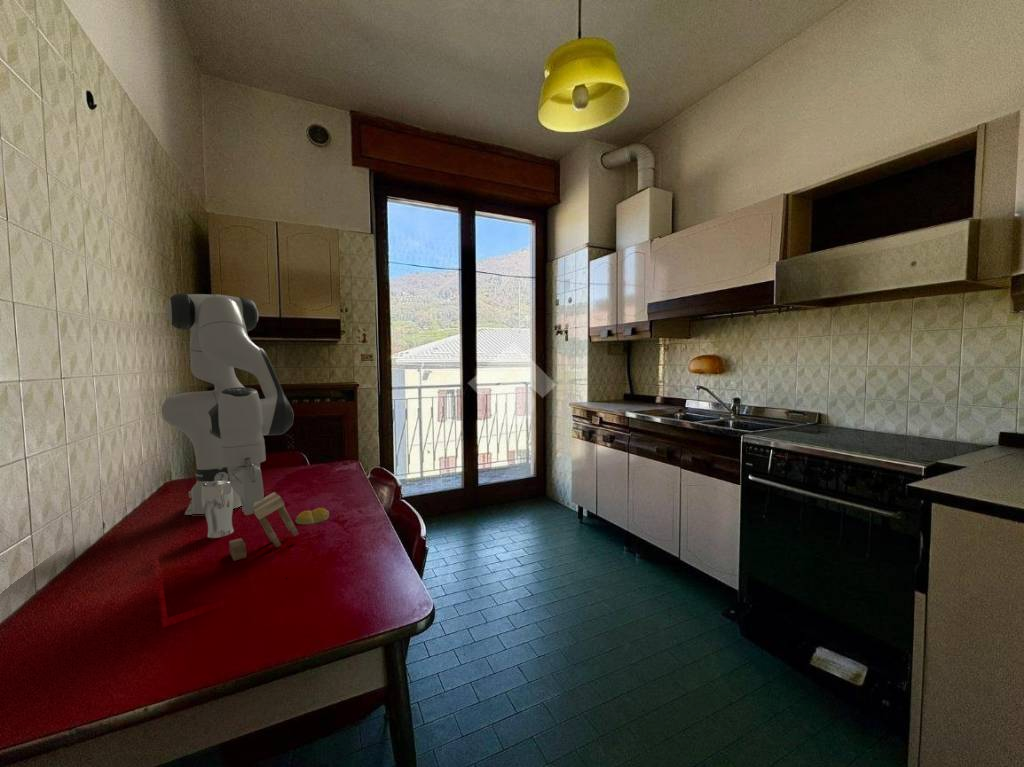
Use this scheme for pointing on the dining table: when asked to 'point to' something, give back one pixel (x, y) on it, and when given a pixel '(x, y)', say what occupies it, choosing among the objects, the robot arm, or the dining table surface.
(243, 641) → the dining table surface
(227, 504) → the beer glass
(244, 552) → the prop block
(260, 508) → the stool
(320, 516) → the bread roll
